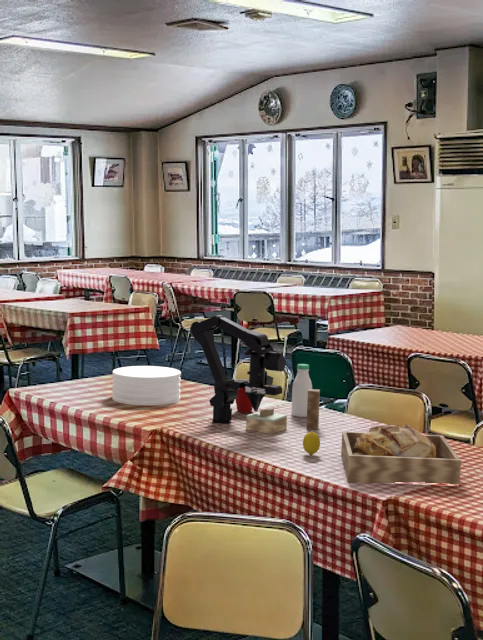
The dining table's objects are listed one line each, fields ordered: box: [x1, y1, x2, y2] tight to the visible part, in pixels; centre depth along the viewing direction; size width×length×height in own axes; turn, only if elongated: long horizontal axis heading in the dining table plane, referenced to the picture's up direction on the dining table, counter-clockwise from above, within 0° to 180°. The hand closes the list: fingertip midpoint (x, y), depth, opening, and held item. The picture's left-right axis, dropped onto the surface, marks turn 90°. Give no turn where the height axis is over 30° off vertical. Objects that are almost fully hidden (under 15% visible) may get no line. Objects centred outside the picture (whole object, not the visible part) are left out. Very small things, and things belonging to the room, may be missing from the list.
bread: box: [353, 424, 437, 458], centre depth 285 cm, size 25×27×15 cm
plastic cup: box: [234, 378, 254, 414], centre depth 362 cm, size 11×11×12 cm
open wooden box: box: [245, 417, 288, 435], centre depth 334 cm, size 11×10×4 cm
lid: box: [246, 407, 288, 422], centre depth 333 cm, size 11×10×3 cm
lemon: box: [302, 430, 321, 456], centre depth 299 cm, size 6×6×8 cm
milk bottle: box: [291, 363, 313, 418], centre depth 358 cm, size 8×8×20 cm
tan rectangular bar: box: [305, 388, 321, 430], centre depth 337 cm, size 4×4×14 cm
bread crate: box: [340, 430, 462, 485], centre depth 284 cm, size 32×30×8 cm
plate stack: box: [111, 365, 182, 406], centre depth 382 cm, size 28×28×12 cm
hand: (255, 410), depth 336 cm, fingers closed
